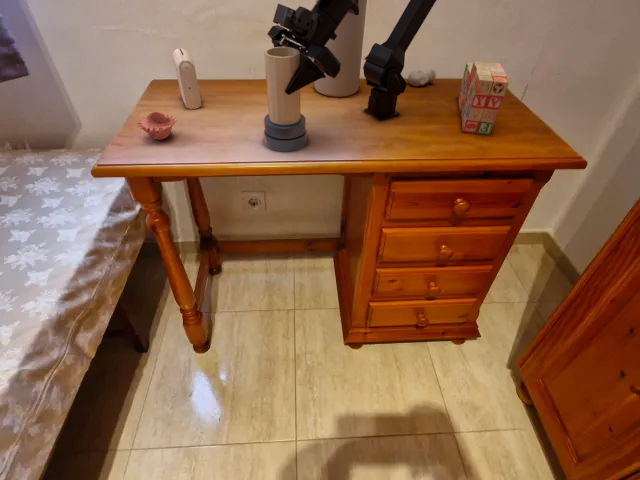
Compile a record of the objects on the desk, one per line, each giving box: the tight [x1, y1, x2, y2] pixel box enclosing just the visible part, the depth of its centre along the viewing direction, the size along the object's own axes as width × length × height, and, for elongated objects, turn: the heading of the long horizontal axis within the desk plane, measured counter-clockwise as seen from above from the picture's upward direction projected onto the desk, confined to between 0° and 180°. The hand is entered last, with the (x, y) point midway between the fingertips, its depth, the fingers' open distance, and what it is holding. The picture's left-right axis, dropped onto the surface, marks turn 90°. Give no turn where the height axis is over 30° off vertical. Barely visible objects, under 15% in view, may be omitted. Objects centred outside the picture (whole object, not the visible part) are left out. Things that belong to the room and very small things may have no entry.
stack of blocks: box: [457, 61, 510, 136], centre depth 92 cm, size 21×6×12 cm, turn 168°
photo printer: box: [172, 47, 202, 110], centre depth 93 cm, size 10×4×12 cm, turn 23°
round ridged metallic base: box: [263, 113, 308, 153], centre depth 81 cm, size 9×9×5 cm
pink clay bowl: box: [137, 111, 177, 141], centre depth 81 cm, size 8×8×6 cm
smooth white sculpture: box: [407, 68, 437, 87], centre depth 109 cm, size 4×8×5 cm
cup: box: [263, 46, 302, 125], centre depth 75 cm, size 7×7×13 cm
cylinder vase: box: [313, 0, 368, 98], centre depth 98 cm, size 12×12×25 cm
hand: (277, 87), depth 74 cm, fingers closed on cup, 7 cm apart
